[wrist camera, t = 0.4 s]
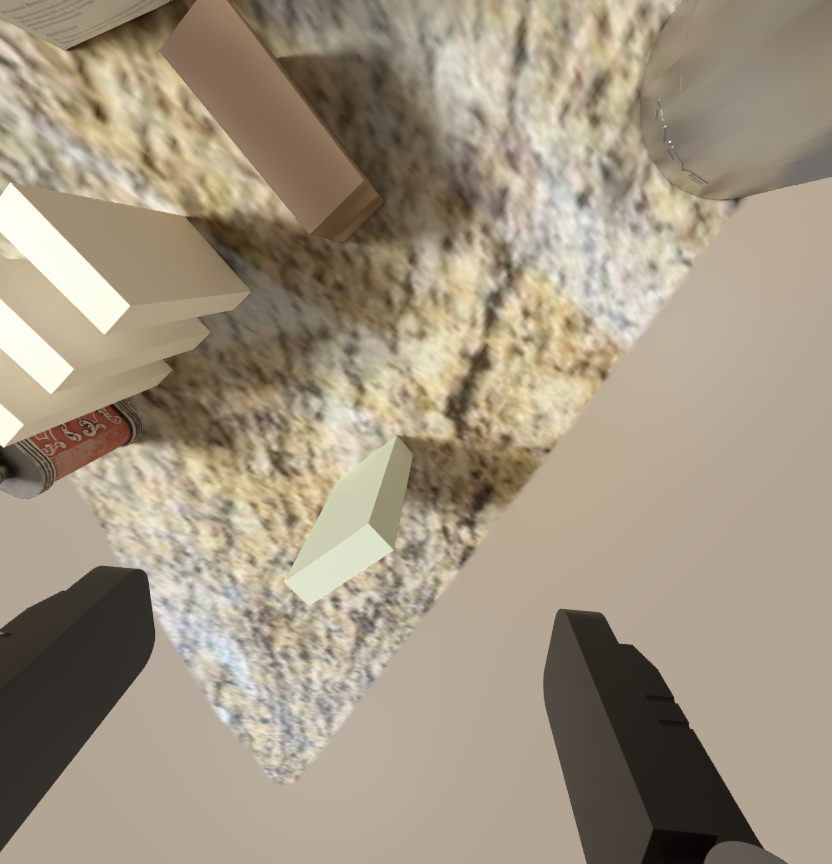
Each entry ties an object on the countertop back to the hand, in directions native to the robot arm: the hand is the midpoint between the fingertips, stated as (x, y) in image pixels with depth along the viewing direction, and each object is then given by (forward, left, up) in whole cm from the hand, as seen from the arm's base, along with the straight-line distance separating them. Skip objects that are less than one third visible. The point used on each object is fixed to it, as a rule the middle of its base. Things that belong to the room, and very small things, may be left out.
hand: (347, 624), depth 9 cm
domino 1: (+5, -13, -19) cm, 23 cm away
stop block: (-3, -13, -19) cm, 23 cm away
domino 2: (+8, -13, -19) cm, 24 cm away
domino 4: (+5, +2, -19) cm, 20 cm away
